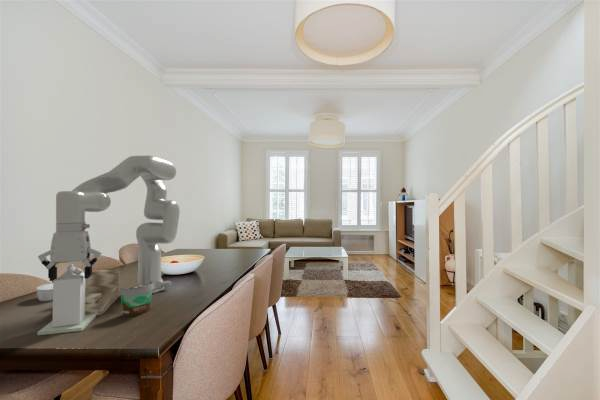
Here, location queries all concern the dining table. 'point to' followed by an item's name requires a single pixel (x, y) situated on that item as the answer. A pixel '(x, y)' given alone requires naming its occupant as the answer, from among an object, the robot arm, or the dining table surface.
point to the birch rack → (102, 290)
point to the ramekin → (45, 292)
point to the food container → (136, 299)
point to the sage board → (69, 328)
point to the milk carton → (69, 297)
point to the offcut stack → (92, 298)
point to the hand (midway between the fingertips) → (70, 278)
